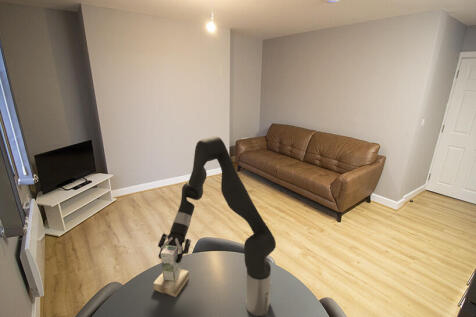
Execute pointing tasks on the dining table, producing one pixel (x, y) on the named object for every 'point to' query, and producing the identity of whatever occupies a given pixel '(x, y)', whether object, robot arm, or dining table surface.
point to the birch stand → (171, 283)
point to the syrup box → (170, 263)
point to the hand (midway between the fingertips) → (168, 260)
